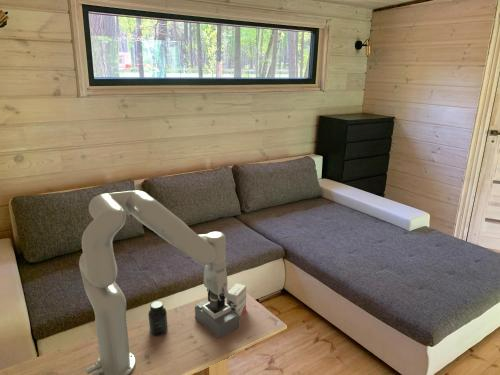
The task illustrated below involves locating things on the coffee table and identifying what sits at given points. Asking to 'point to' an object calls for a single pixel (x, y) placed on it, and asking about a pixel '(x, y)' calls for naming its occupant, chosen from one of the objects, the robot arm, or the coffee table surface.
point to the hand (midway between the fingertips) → (216, 303)
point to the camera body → (217, 318)
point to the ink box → (237, 298)
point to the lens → (214, 303)
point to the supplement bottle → (157, 318)
